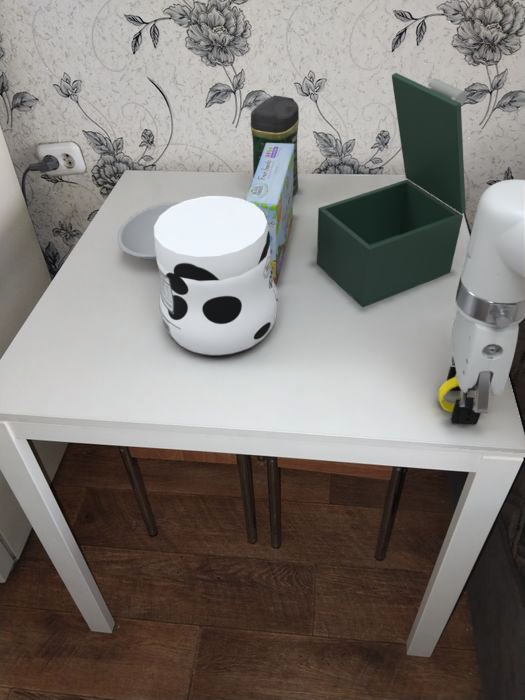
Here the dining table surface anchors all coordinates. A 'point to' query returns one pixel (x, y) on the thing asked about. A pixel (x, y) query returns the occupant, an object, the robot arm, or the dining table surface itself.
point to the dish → (141, 232)
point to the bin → (386, 241)
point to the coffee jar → (275, 128)
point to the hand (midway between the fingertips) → (460, 404)
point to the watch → (444, 389)
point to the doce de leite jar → (215, 274)
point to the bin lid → (432, 137)
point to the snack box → (275, 197)
